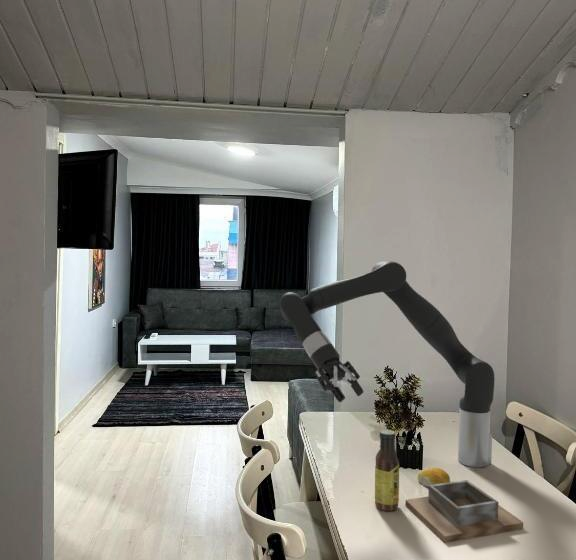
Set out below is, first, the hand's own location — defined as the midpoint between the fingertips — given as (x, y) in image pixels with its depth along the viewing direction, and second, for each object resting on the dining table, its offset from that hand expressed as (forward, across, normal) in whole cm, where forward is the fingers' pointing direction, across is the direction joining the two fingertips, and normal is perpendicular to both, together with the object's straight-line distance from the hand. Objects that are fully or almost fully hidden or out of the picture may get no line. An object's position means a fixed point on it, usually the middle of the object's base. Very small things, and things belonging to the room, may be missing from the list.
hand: (352, 397), depth 142 cm
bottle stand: (+39, +9, -1) cm, 40 cm away
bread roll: (+29, +22, +9) cm, 37 cm away
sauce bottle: (+27, 0, +11) cm, 29 cm away
